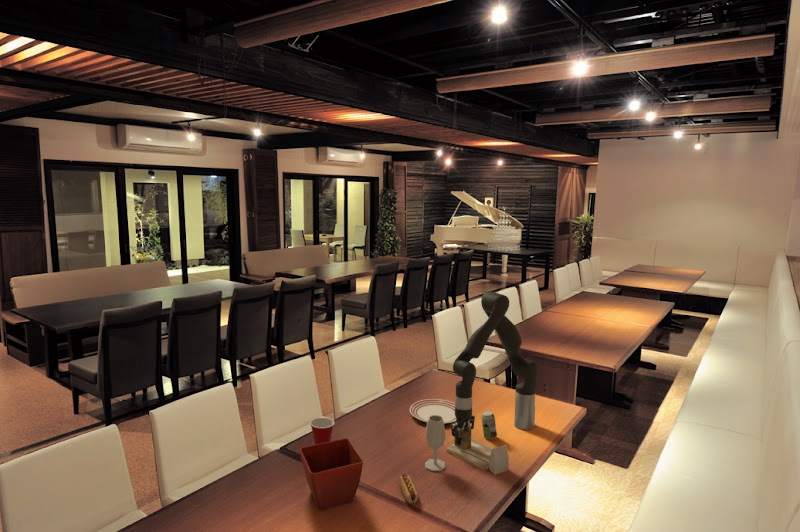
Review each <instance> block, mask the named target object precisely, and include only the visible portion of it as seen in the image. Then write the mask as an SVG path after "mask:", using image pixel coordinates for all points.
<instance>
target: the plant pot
mask: <svg viewBox="0 0 800 532" xmlns="http://www.w3.org/2000/svg"><path fill="white" fill-rule="evenodd" d="M299 454H300V460H301V463H302V468H303V472H304V474H305V475H304V476H305V478H306V481H307V485H308V487H309V489H310V492H311V495H312V497H313V499H314V502H315V504H316V506H317V509H318V510H320V511H323V510H327V509H330V508H331V509H332V508H334V507H338V506H342V505H345V504H349V503H352V502H353V501H354V499H355V496H356V494H357V491H358V488H359V485H360V480H361V476H362V473H363V472H362V471H363V465H364V460H363V459H362V457H361V456H360V454H359V453H358V451H357V450H356V448H355V447H354V445H353V444H352V442H351V440H350V439H349V438H345V437H344V438H340V439H336V440H330V442H325V443H320V444H316V445H315V444H312V445H307V446H301V447H300V448H299Z"/></svg>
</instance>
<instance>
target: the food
mask: <svg viewBox="0 0 800 532" xmlns="http://www.w3.org/2000/svg"><path fill="white" fill-rule="evenodd" d="M398 480H399V481H398V482H399V488H400V492H401V493H402V495H403V498H404V499H405V500H406V502H407V503H409V504H410V505H411V504H415V503H416V502H417V501H418V499H419V493H418V491H417V488H416V485H415V483H414V482H413V480H412V479H411V476H410V475H407V474H405V473H403V474H402V475H401V476H399V479H398Z"/></svg>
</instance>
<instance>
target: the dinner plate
mask: <svg viewBox="0 0 800 532" xmlns="http://www.w3.org/2000/svg"><path fill="white" fill-rule="evenodd" d="M409 413H410V414H411V415H412V416H413V417H414V418H415V419H416V420H419V421H421V422H424V423H427V421H428V418H429V417H430V416H431V415H439V416H442V417H443V421H444V425H445V424H452V423H456V416H455V402H453V401H451V400H447V399H439V398H427V399H421V400H418V401H416V402H414V403H412V405H410V407H409Z"/></svg>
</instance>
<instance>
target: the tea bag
mask: <svg viewBox="0 0 800 532" xmlns="http://www.w3.org/2000/svg"><path fill="white" fill-rule="evenodd" d="M509 457H510V456H509V453H508V448H507V444H505V445H500V446H498V447H494V448H493V449H492V452H491V454H490V459H489V468H488V470H489V471H490V472H491V473H492V474H493V473H494V474H493V475H498V474H501V472H502V473H505V472H507V471H509V461H510V460H509V459H510V458H509Z"/></svg>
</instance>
